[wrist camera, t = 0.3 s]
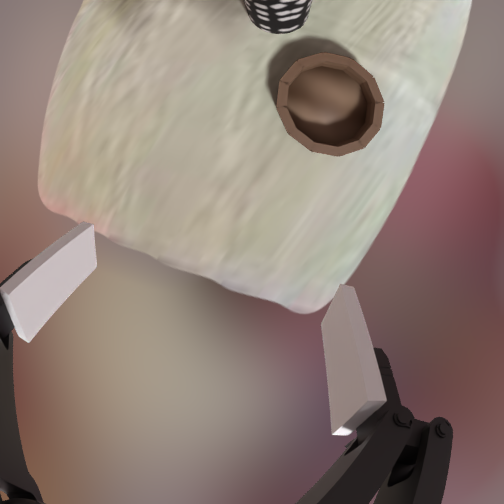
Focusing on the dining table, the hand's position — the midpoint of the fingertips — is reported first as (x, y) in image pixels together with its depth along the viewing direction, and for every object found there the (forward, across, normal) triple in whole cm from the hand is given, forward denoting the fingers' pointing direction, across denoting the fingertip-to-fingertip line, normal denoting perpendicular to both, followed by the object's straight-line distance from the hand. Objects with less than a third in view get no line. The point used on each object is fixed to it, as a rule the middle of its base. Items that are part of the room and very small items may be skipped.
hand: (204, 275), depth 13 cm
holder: (+28, +7, +12) cm, 31 cm away
